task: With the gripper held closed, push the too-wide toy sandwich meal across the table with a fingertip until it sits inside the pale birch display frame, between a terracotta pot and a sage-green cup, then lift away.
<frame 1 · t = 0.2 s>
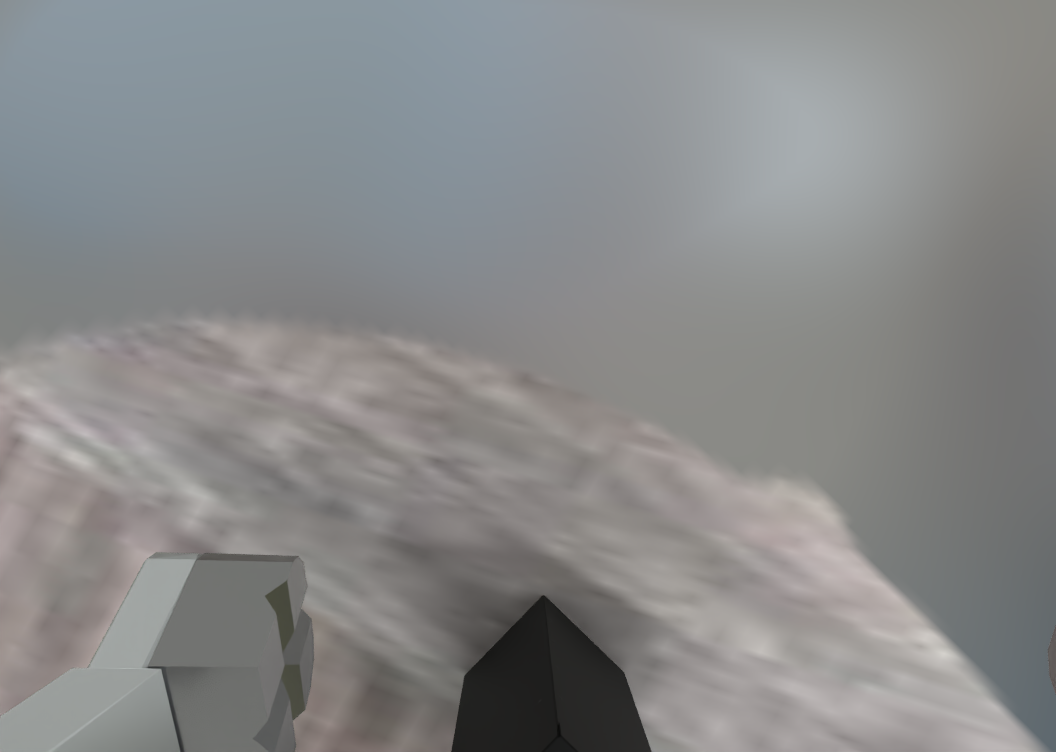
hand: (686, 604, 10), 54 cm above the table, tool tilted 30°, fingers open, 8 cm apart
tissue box: (544, 673, 64), on the table
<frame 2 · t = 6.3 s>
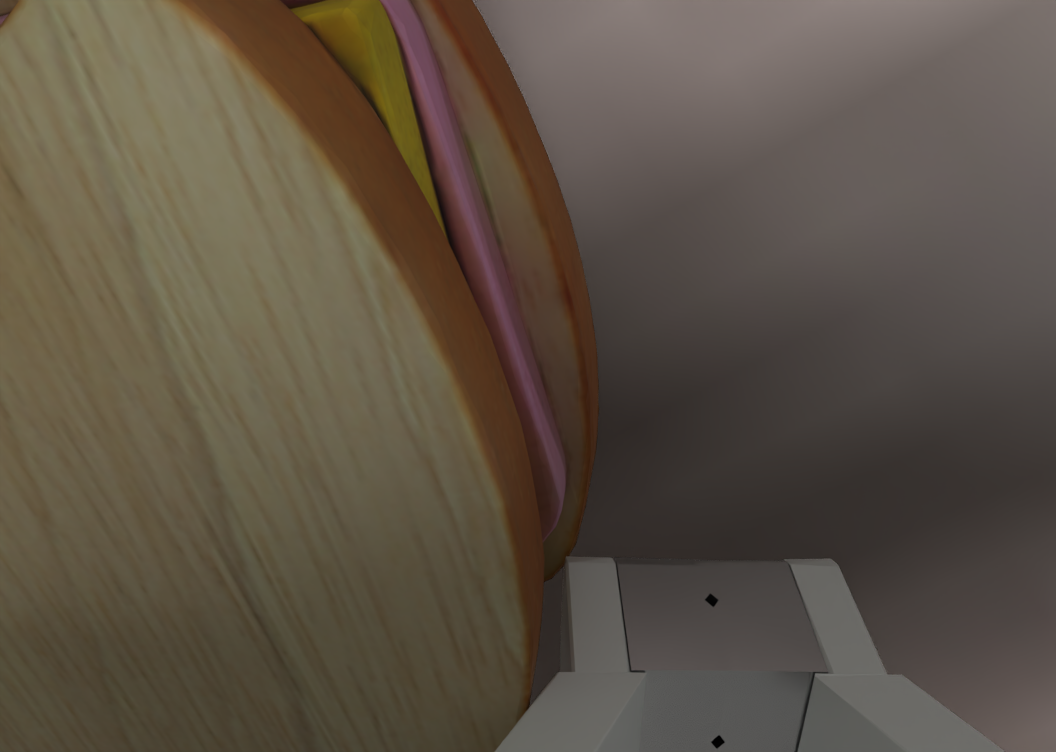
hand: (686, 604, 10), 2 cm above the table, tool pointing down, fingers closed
toy sandwich meal: (29, 335, 11), on the table, touching gripper
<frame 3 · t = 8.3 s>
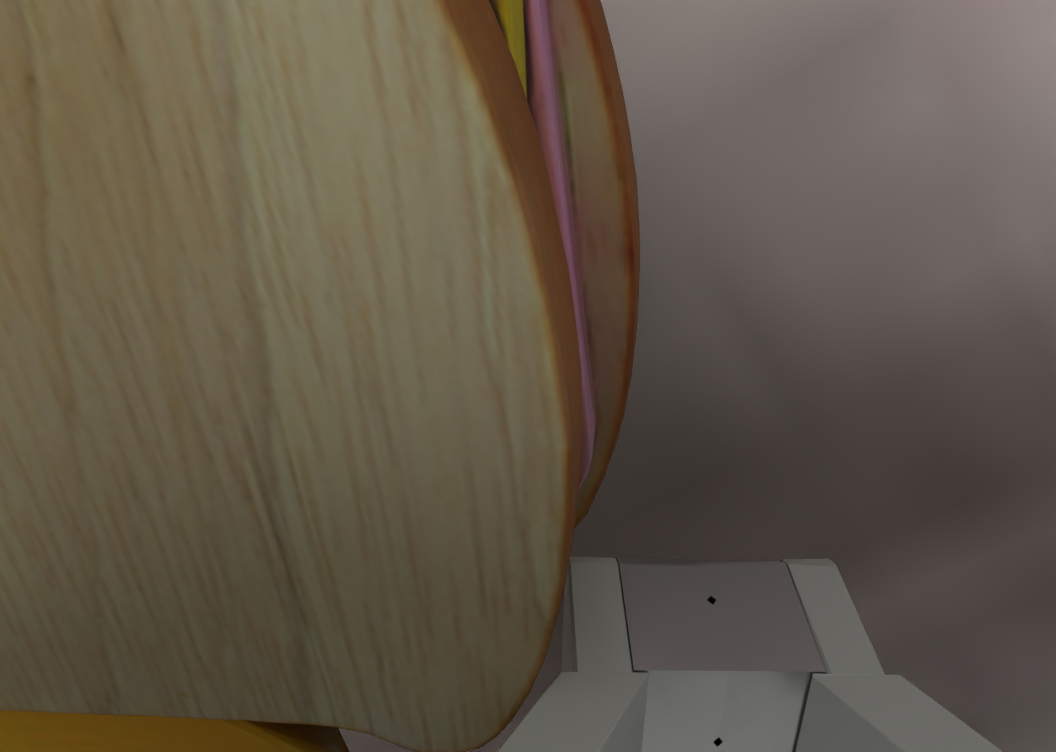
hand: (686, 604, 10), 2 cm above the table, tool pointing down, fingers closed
toy sandwich meal: (32, 231, 11), on the table, touching gripper
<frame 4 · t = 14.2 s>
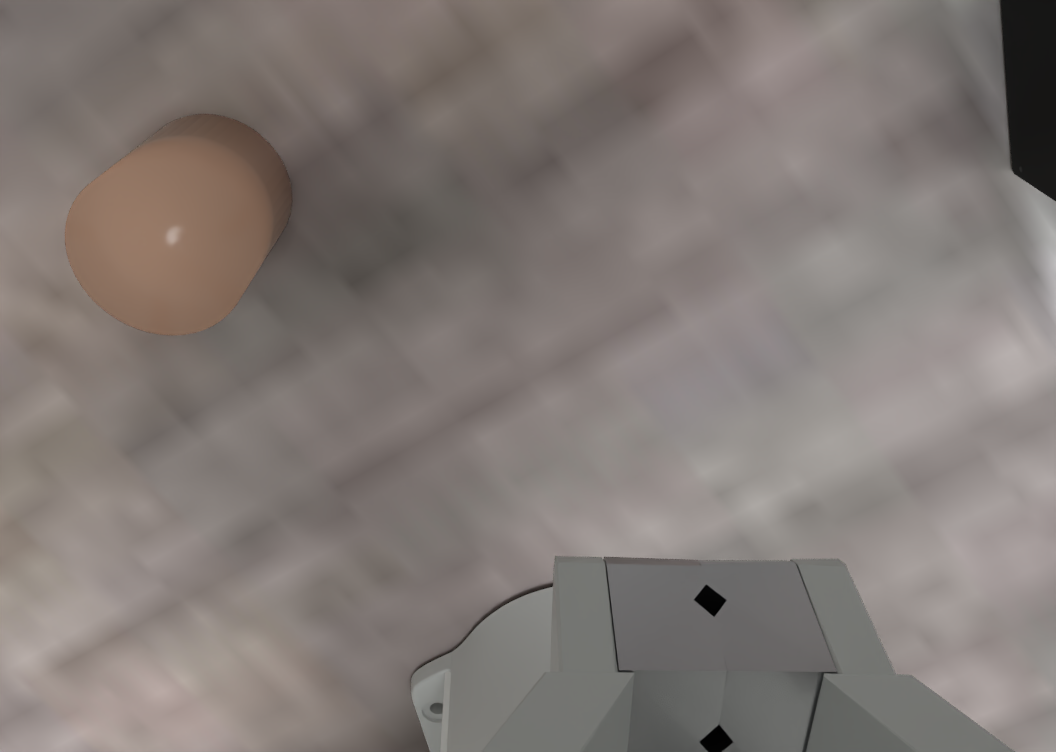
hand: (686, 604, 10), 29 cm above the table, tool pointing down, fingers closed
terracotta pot: (216, 189, 38), on the table
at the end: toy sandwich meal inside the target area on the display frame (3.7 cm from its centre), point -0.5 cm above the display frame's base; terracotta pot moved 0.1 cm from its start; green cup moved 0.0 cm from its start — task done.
